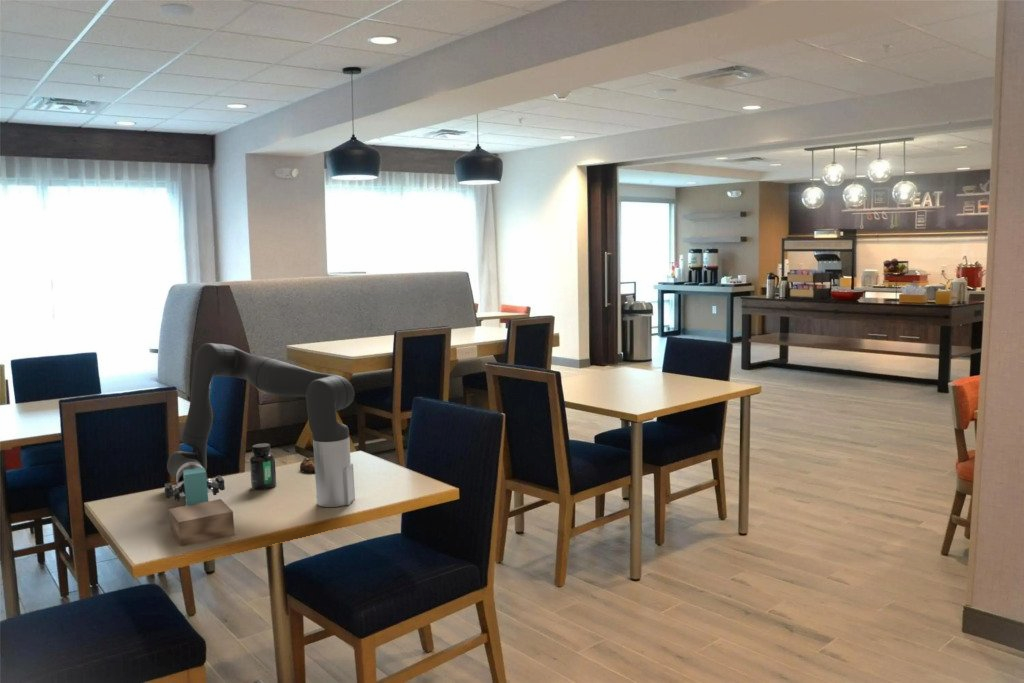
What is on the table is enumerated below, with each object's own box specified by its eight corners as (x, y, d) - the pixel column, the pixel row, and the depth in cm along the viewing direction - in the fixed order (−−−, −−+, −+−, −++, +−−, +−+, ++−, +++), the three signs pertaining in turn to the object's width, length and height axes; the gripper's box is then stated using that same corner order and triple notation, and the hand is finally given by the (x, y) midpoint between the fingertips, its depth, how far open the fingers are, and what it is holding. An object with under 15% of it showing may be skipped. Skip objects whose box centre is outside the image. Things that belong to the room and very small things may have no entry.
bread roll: (292, 472, 242) (292, 455, 242) (313, 467, 252) (314, 451, 252) (323, 476, 238) (324, 459, 238) (344, 471, 249) (344, 455, 249)
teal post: (207, 512, 206) (204, 467, 205) (209, 518, 202) (205, 471, 200) (186, 516, 204) (183, 470, 203) (188, 522, 199) (184, 474, 198)
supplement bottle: (274, 489, 225) (271, 447, 224) (249, 490, 224) (246, 448, 223) (278, 482, 232) (275, 441, 230) (253, 484, 231) (251, 443, 230)
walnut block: (222, 522, 199) (220, 499, 198) (234, 535, 189) (232, 511, 188) (170, 533, 193) (168, 508, 192) (180, 547, 183) (178, 522, 182)
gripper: (161, 468, 211) (164, 483, 197) (218, 460, 218) (225, 475, 203) (164, 496, 212) (167, 513, 198) (220, 487, 218) (228, 503, 204)
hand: (196, 494), depth 200 cm, fingers open, 8 cm apart
